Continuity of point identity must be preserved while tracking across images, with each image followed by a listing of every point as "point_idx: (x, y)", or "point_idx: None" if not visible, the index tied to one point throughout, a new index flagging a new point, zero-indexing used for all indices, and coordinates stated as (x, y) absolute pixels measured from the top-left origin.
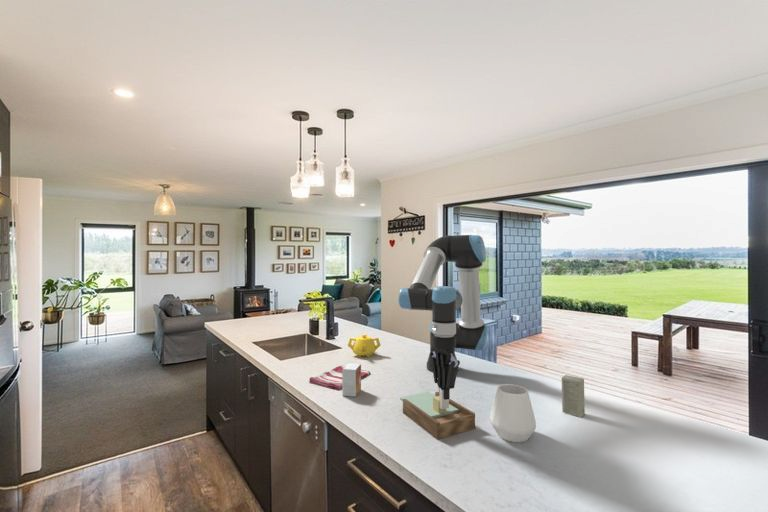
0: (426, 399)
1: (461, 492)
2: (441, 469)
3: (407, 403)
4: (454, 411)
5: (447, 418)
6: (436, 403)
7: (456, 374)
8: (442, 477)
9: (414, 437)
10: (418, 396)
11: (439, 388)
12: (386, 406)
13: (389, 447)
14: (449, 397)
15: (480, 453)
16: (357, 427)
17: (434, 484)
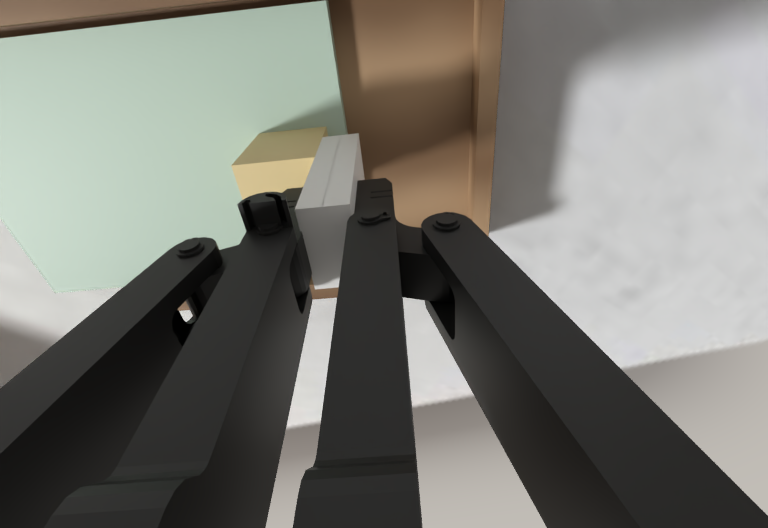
0: (92, 157)
1: (758, 314)
2: (636, 312)
3: (181, 305)
4: (334, 50)
5: (396, 151)
6: None
7: (602, 351)
8: (667, 326)
9: (408, 306)
10: (30, 186)
11: (319, 285)
12: (76, 303)
13: (431, 387)
14: (391, 183)
15: (687, 119)
16: None
17: (670, 355)
